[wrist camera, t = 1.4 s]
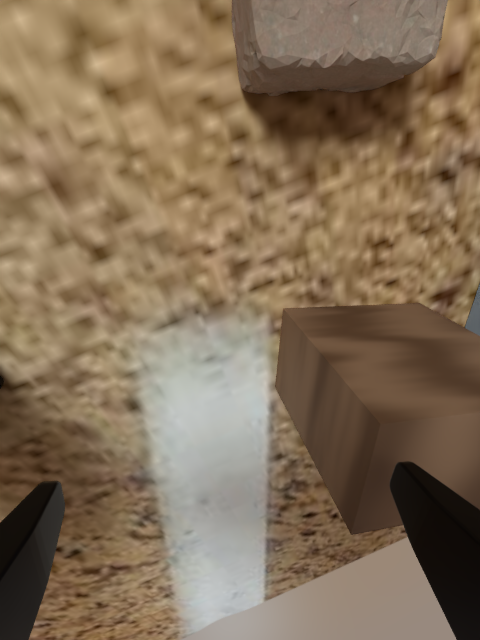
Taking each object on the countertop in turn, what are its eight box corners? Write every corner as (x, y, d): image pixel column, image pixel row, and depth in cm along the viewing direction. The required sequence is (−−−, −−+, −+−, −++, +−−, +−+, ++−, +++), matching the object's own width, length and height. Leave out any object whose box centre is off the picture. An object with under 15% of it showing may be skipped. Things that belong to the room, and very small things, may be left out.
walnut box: (275, 386, 25) (351, 534, 15) (283, 308, 22) (380, 424, 12) (399, 375, 27) (538, 499, 17) (419, 302, 24) (594, 398, 15)
